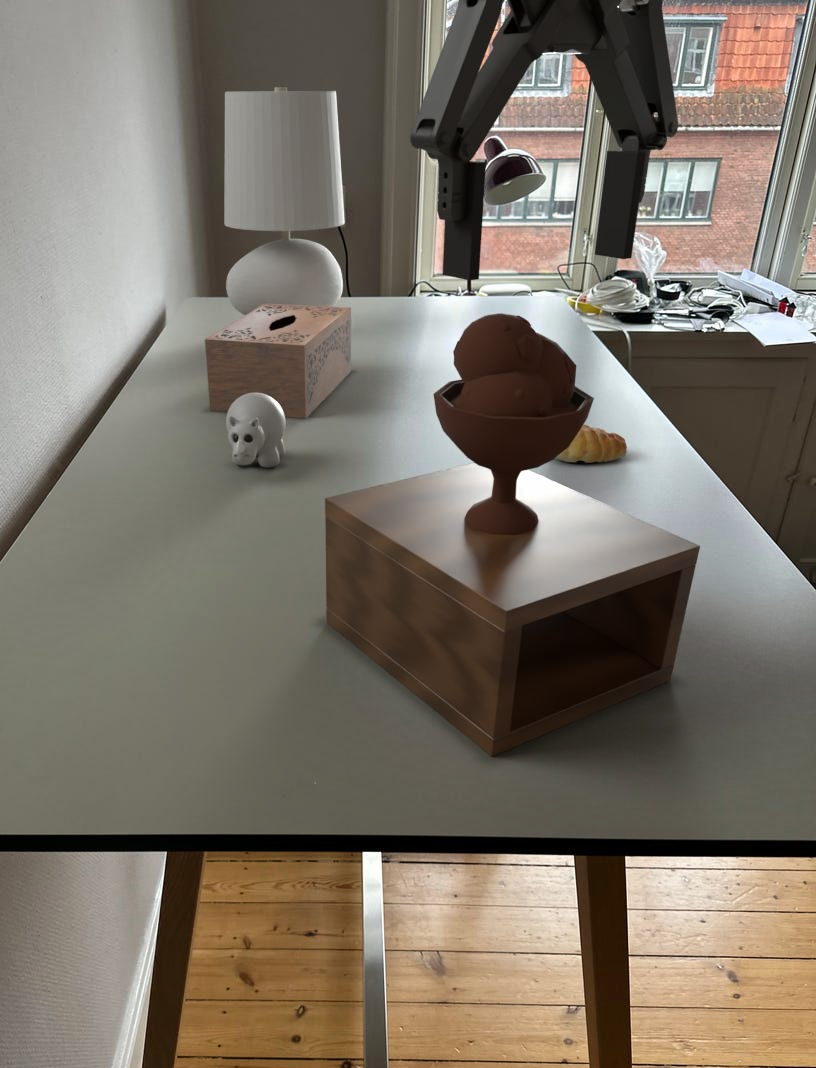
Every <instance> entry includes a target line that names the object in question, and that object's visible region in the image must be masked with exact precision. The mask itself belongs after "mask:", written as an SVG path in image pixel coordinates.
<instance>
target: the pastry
mask: <svg viewBox="0 0 816 1068" xmlns="http://www.w3.org/2000/svg"><path fill="white" fill-rule="evenodd" d="M627 447H628V446H627V442H626V440H625V438H624V437H622V436H621V435H620V434H618V433H616V432H607V431H606V430H604V429H603V428H599V427H593V426H589V425H587V424H583V426H582V428H581V429H580V431H579V433H578V434H577V436H576V437H575V438H574V440H573V441H572V443H571V444H570V446H569V447H568V448H567V449H566V450H564V451H563V452H562V453H561V454H559V455H558V456H557V457H556V458H555V459H557V460H559V461H562V462H565V463H577V462H578V461H582V462H584V463H594V462H595V463H602V462H604V463H607V462H613V461H616V460H618V459H620V458H624V457H625V456H626V454H627V451H628V449H627Z"/></svg>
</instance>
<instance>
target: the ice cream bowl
mask: <svg viewBox="0 0 816 1068" xmlns="http://www.w3.org/2000/svg"><path fill="white" fill-rule="evenodd" d="M452 353H453V366H454V368H455V370H456V371H457V373H458V375H459V378H460V379H456V380H455V379H454V380H450V381H448V382H447V383H445V384H444V385H443V386H441V387H440V388H439V389H437V390H436V391H435V392H434V393H433V394H432V395H433V400H434V408H435V414H436V417H437V419H438V422H439V424H440V427H441V429H442V432H443V433H444V434H445V435H446V436H447V437H448V438H449V439H450V441H451V442H453V444H454V445H455V446H456V447H457V449H458V450H460V452H461V453H462V454H463V455H464V456H465V457H466V458H467V459H469V460H470V461H472V463H476V464H477V465H479V466H482V467H485V468H488V469H491V472H492V475H493V478H494V480H493V489H492V497H490V498H487V499H485V500H483V501H480V502H478V503H475V504H473V505H472V507H471V508H470V509H469V510H468V511H467V513H466V516H465V518H464V519H465V520H466V521H467V523H468V524H469V525H470V526H471V527H472V528H474V529H477V530H480V531H483V532H486V533H489V534H502V535H517V534H521V533H524V532H528V531H532V530H534V528H535V527H536V525H537V524H538V522H539V520H538V515H537V514H536V513H535V512H534V511H533V510H532V509H531V508H530V507H529V506H528V505H526V504H524V503H523V502H521V501H519V500H518V499H516V485H517V478H518V476H519V475H520V473H521V471H525V470H529V471H530V470H533V469H537V468H539V467H542V466H543V465H546V464H548V463H550V462H551V461H553V460H554V459H557V458H556V457H557V456H558V455H559V454H561V453H562V452H563V451H564V450H566V449H567V448H568V447H569V446H570V444H571V443H572V441H573V440H574V438H575V437H576V436H577V434H578V433H579V431H580V429H581V428H582V426H583V425H585V423H586V421H587V420H588V418H589V414H590V411H591V408H592V405H593V402H594V400H595V397H593V396H591V395H590V394H589V393H587V392H585V391H584V390H582V389H580V388H579V387H578V386H576V379H577V378H576V377H577V375H576V374H577V364H576V363H575V362H574V361H573V360H572V358H571V357H570V356H569V354H568V353H567V352H566V351H565V350H564V349H563V348H562V347H561V346H560V344H558V342H556V341H554V340H553V339H550V338H548V337H547V336H545V335H543V334H541V333H539V332H536V330H535V329H534V328H533V327H532V324H531V323H530V321H529V320H527V319H526V318H524V317H523V316H521V315H515V314H508V313H503V312H500V313H493V314H492V313H491V314H487V315H483V316H481V317H480V318H477V319H476V320H474V321H471V322H470V324H469V325H468V326H467V327H466V328H465V329H464V330H463V332H462V333H461V336H460V337H459V339H458V340H457V342H456V344H455V346H454V349H453V351H452Z"/></svg>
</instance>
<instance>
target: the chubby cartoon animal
mask: <svg viewBox="0 0 816 1068" xmlns="http://www.w3.org/2000/svg"><path fill="white" fill-rule="evenodd" d="M286 424H287V422H286V417H285V415H284V412H283V410H282V408H281V406H280V405H279V404H278V403H277V402H276V401H275V400H274V399H273V398H272V397H270V396H268V395H266V394H263V393H248V394H245V395H242V396H241V397H239V398H238V399H236V400H235V401H234V402H233V404H232V405H231V406H230V408H229V410H228V412H226V418H225V427H226V433H227V435H228V437H227V438H228V442H229V445H230V446H231V448H232V453H231V461H232V463H234V464H235V465H237V466H248V465H251V464H252V463H254V461H255V460H256V459H257V460H258V464H259V466H260V467H262V468H266V469H268V468H269V469H270V468H273V467H276V466H278V465H279V464H280V458H282V457H283V456H284V455H285V454H286V453H285V452H286V448H285V443H284V440H283V437H284V435H285V432H286V427H287V425H286Z"/></svg>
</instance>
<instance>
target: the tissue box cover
mask: <svg viewBox="0 0 816 1068" xmlns="http://www.w3.org/2000/svg"><path fill="white" fill-rule="evenodd" d="M204 349H205V360H206V361H205V362H206V372H207V373H206V375H207V387H208V400H209V411H210V412H222V413H228V410H229V408H230V406H231V405H232V404H233V402H234V401H235V400H236V399H238V398H239V397H241V396H242V395H245V394H248V393H263V394H266V395H268V396H270V397H272V398H273V399H274V400H275V401H276V402H277V403H278V404H279V405H280V406H281V408H282V410H283V412H284V415H285V418H287V417H288V418H299V419H307V418H309V416H310V415H311V414H312V413H313V412H314V411H315V410H316V409H317V408H318V407H319V406H320V404H322V402H323V401H325V400H326V398H327V397H328V396H329V395H330V394H331V393H332V392H333V391H334V390H335V389H336V388H337V387H338V386H339V384H340V383H341V382H342V381H344V379H345V378H346V377H347V376H348V375H349V374H350V373H351V372H352V307H344V306H343V307H342V306H333V307H325V306H305V305H284V304H263V305H261V306H260V307H258V308H256V309H255V310H253V311H251V312H250V313H248V314H246V315H243V316H241V317H239V318H238V319H236V320H235V321H233V322H231V323H230V324H228V325H226V326H225V327H223V328H222V329H219V330H218V331H216V332H215V333H213V334H212V335H209V336H208V337H206V338H205V339H204Z"/></svg>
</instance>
